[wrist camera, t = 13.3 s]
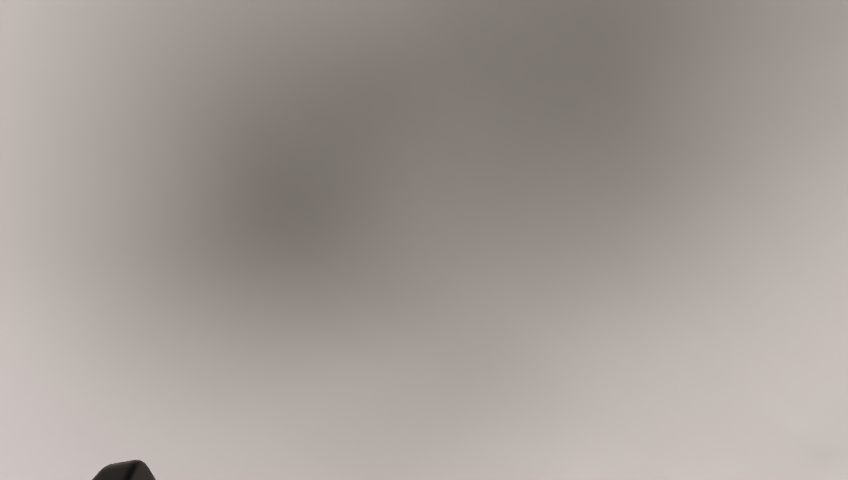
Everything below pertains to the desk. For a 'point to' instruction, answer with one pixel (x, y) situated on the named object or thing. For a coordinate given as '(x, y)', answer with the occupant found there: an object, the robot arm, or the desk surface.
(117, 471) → the robot arm
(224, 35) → the desk surface
